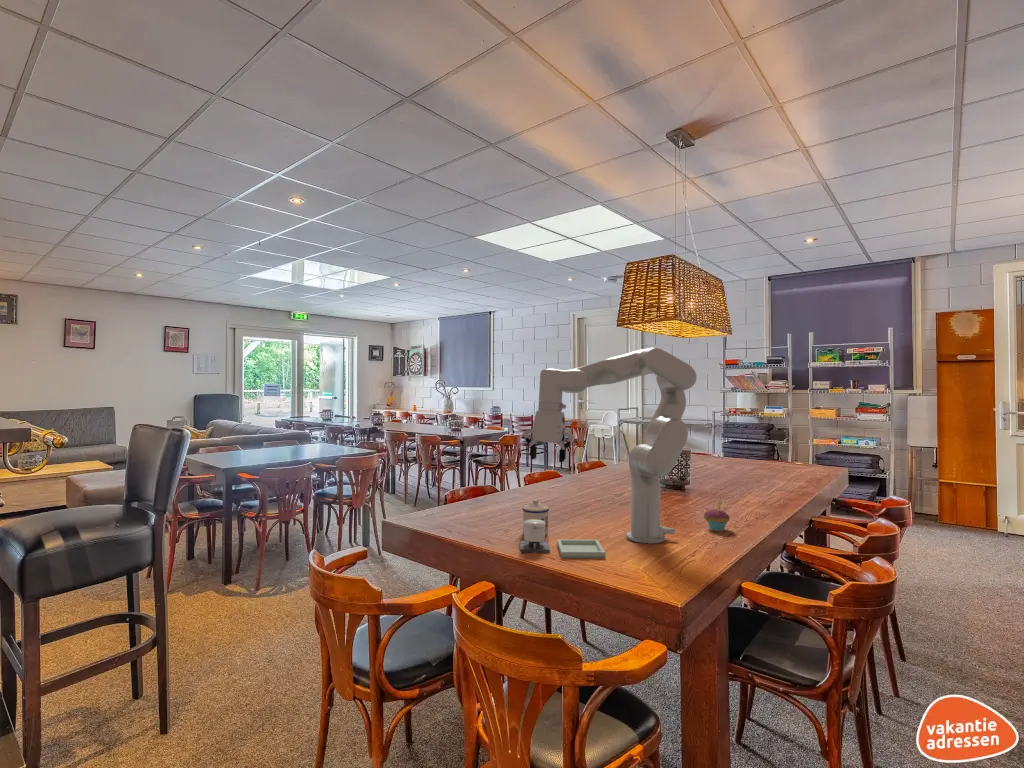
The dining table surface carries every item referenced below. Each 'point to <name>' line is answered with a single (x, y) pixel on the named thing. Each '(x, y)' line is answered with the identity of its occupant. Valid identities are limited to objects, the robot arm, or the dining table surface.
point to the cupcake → (717, 518)
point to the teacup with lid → (536, 513)
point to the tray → (580, 548)
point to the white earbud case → (534, 530)
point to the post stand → (534, 546)
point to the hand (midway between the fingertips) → (547, 460)
